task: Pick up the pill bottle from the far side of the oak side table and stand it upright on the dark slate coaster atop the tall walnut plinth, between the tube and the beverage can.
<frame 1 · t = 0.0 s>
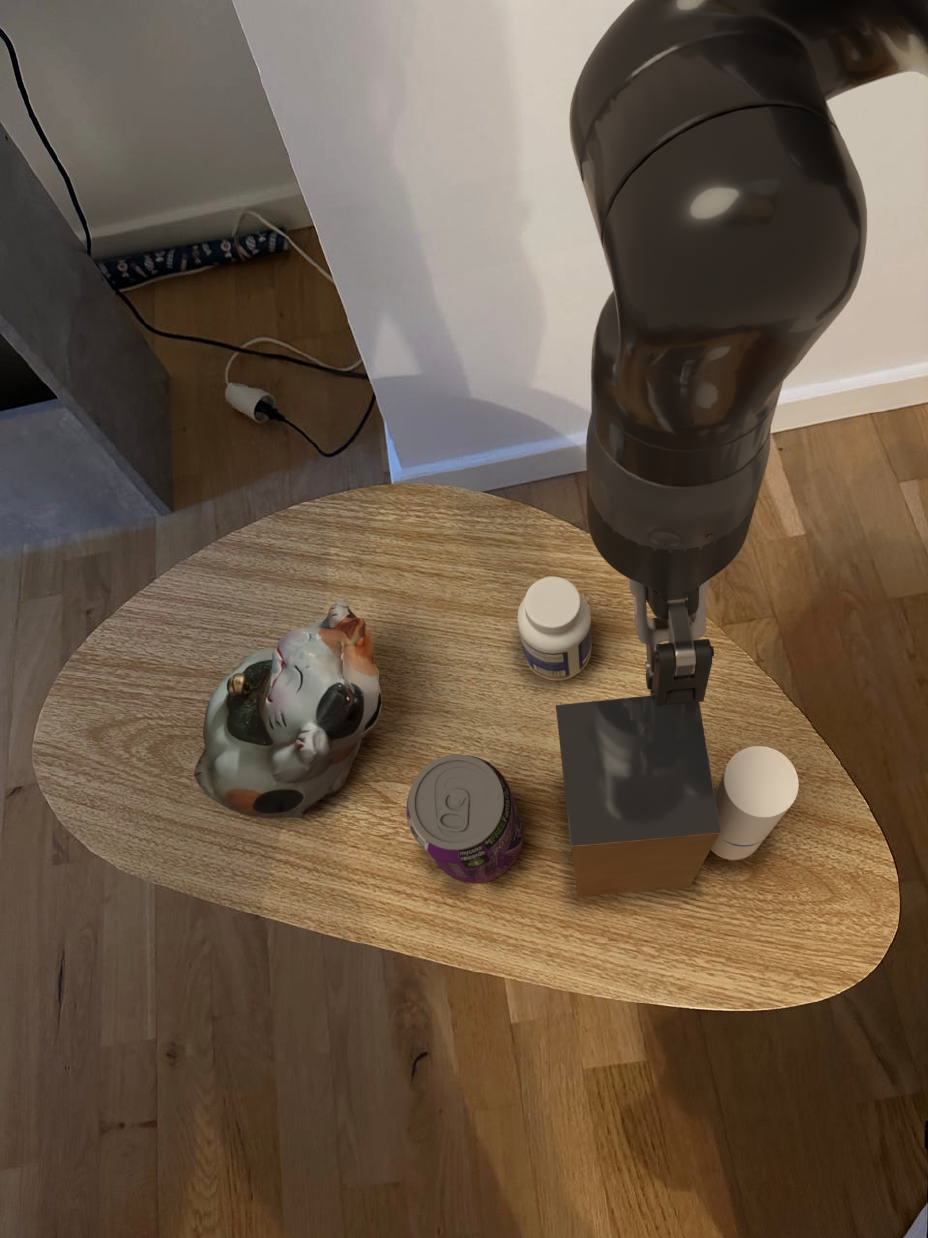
hand: (655, 613, 60), 21 cm above the table, tool pointing down, fingers open, 8 cm apart
pill bottle: (557, 651, 82), on the table
beverage can: (476, 836, 77), on the table
tube: (731, 830, 75), on the table
slate coaster: (635, 768, 57), resting on walnut plinth
lucky cat figurine: (305, 725, 82), on the table
walnut plinth: (626, 836, 76), on the table
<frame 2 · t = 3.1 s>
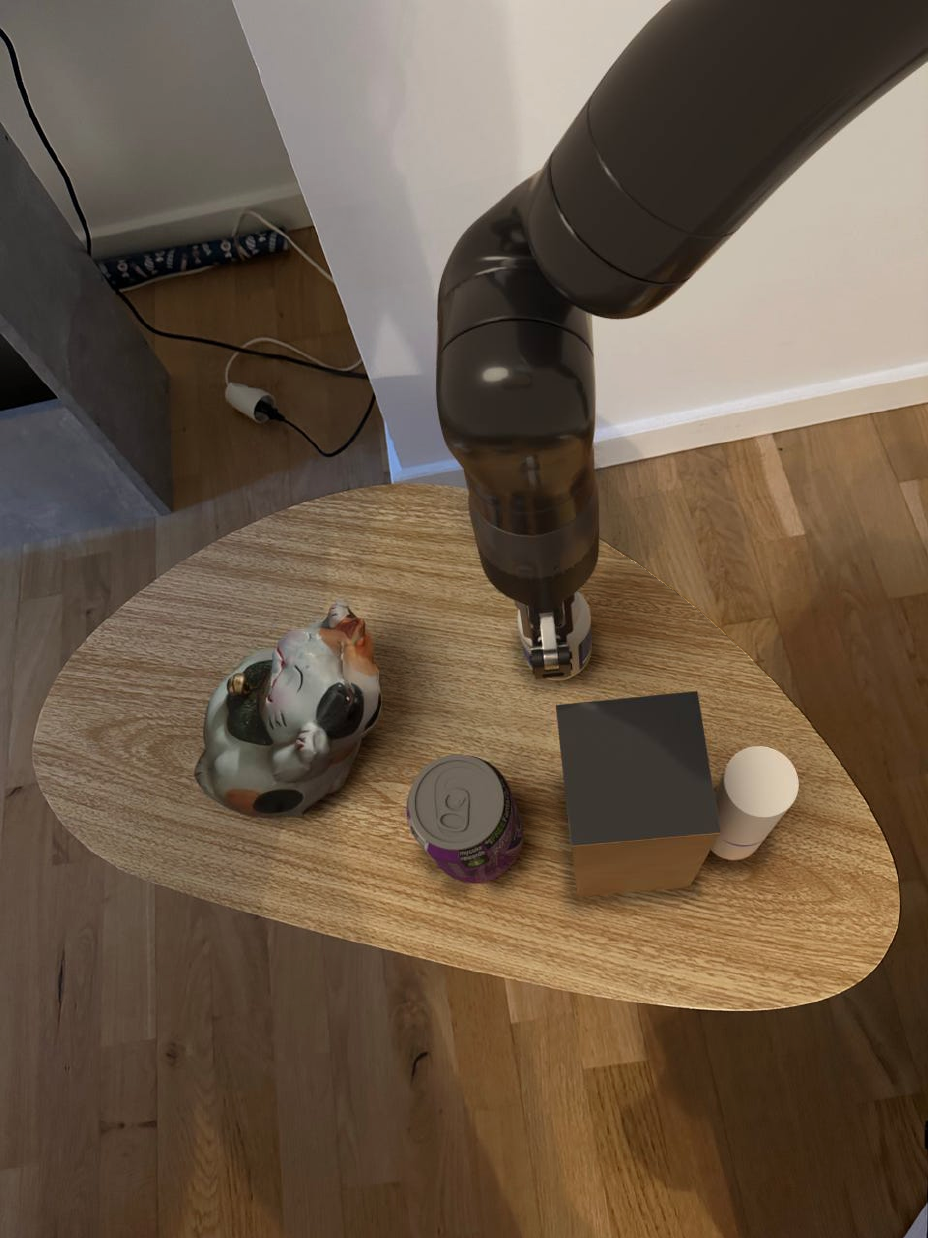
hand: (548, 624, 77), 6 cm above the table, tool pointing down, fingers closed on pill bottle, 5 cm apart
pill bottle: (557, 650, 82), on the table, touching gripper
everything else where it was.
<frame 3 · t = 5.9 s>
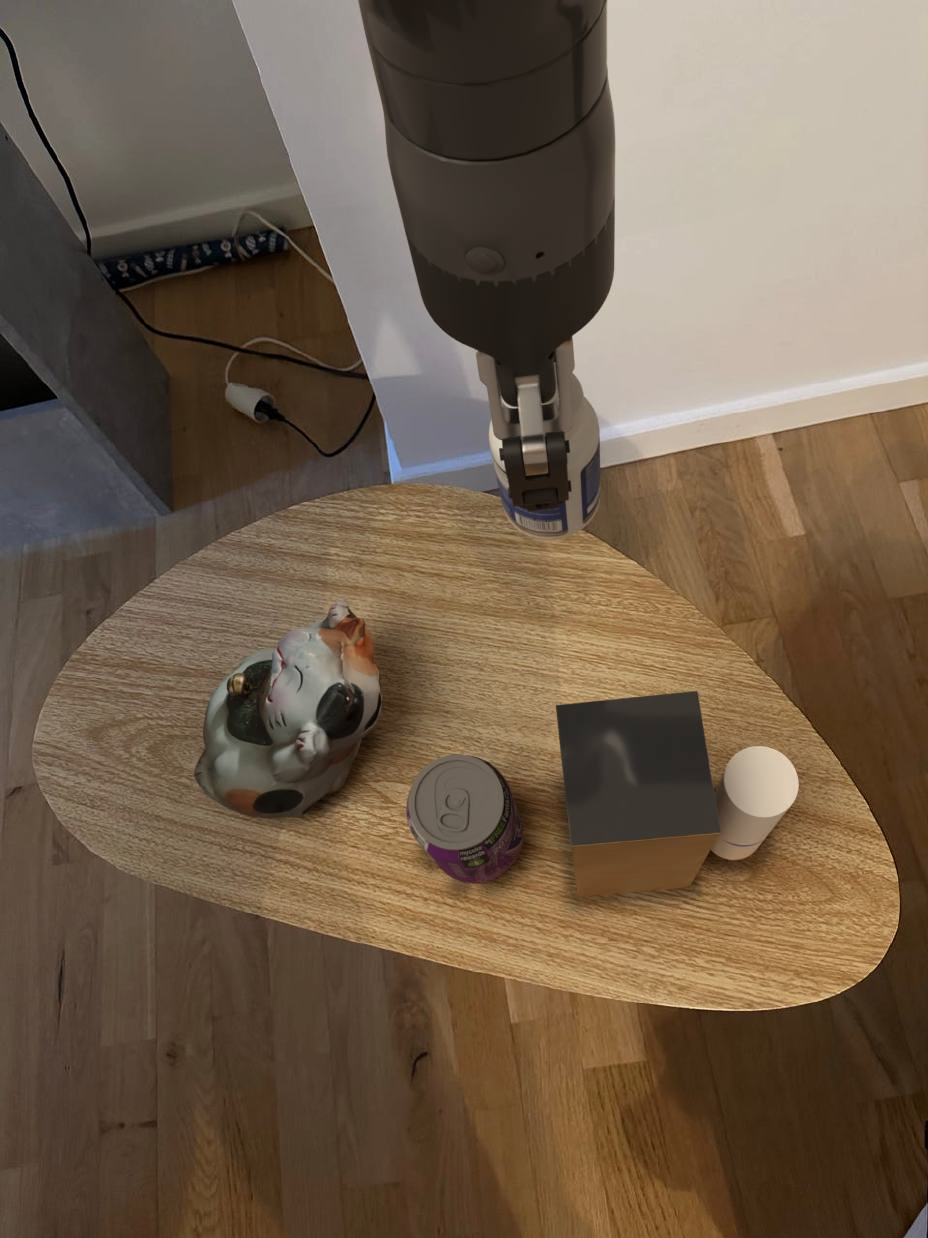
hand: (536, 446, 51), 33 cm above the table, tool pointing down, fingers closed on pill bottle, 5 cm apart
pill bottle: (550, 500, 57), point 27 cm above the table, touching gripper
everything else where it was.
when the fingers open (26 cm above the table, at t = 9.3 s): pill bottle stays where it is, resting on slate coaster.
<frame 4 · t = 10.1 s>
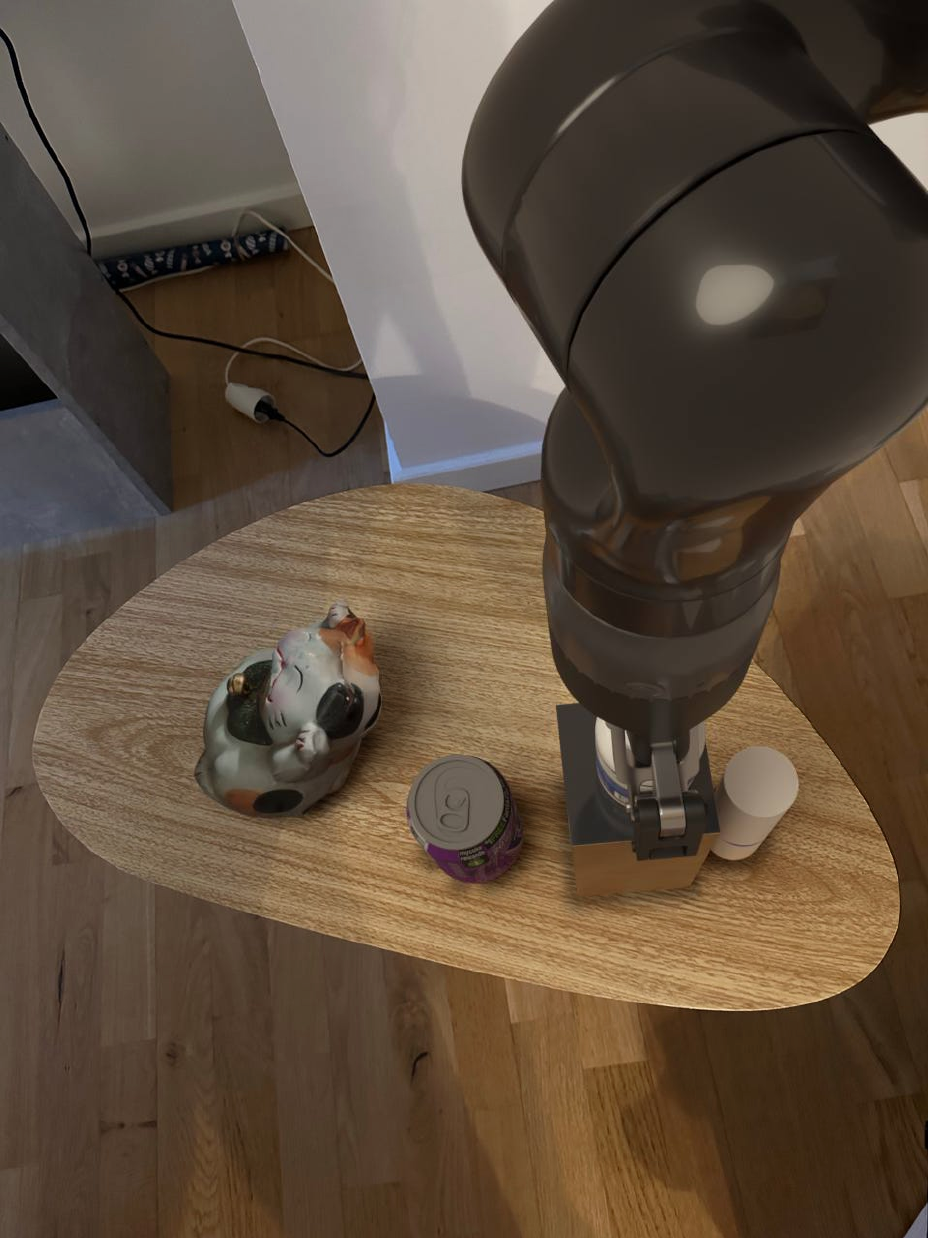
hand: (639, 727, 50), 28 cm above the table, tool pointing down, fingers open, 8 cm apart
pill bottle: (644, 765, 57), point 20 cm above the table, touching slate coaster
everything else where it was.
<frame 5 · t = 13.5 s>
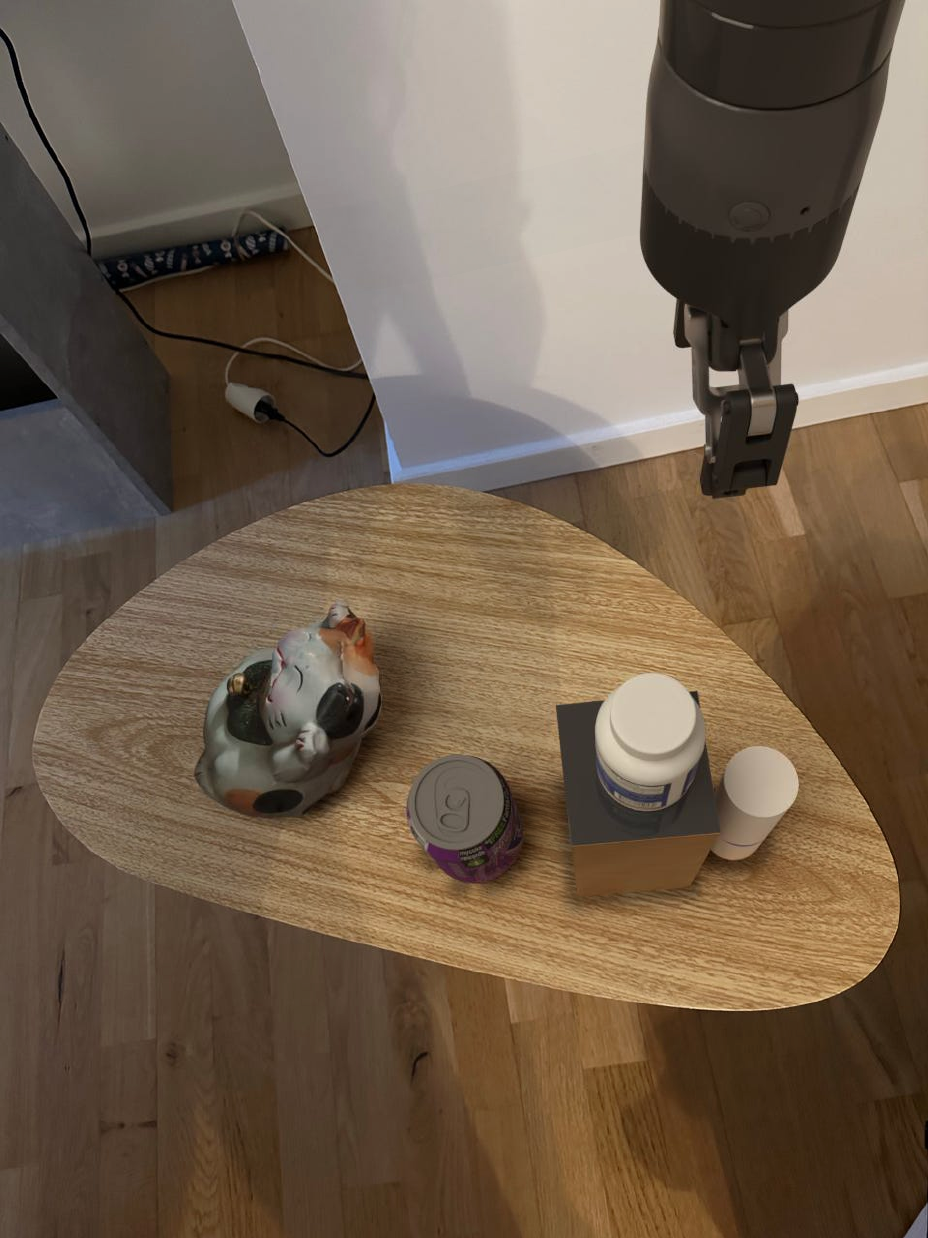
hand: (708, 411, 50), 33 cm above the table, tool pointing down, fingers open, 8 cm apart
nothing on the table moved.
at the end: pill bottle 0.5 cm off-centre on the slate coaster, point 0.2 cm above the slate coaster's base; pill bottle tilted 0°; the gripper is holding nothing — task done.
